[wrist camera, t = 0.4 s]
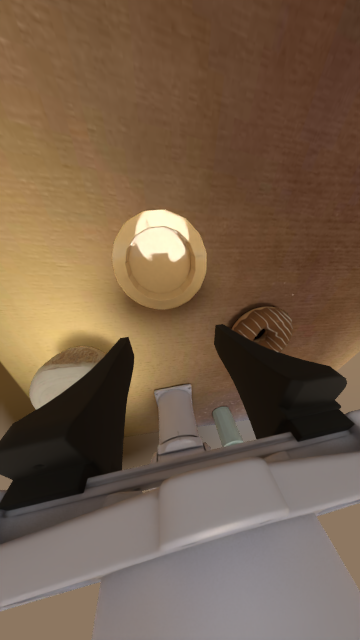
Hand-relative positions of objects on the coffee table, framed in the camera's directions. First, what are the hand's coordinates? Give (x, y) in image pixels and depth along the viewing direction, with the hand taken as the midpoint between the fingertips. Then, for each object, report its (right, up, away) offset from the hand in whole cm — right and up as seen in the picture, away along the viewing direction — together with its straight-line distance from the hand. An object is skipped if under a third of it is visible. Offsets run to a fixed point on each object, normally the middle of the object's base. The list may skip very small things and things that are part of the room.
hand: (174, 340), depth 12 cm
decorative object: (-14, -4, +12) cm, 18 cm away
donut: (+14, 0, +14) cm, 20 cm away
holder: (-2, +9, +6) cm, 11 cm away
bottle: (+12, -24, +28) cm, 38 cm away
